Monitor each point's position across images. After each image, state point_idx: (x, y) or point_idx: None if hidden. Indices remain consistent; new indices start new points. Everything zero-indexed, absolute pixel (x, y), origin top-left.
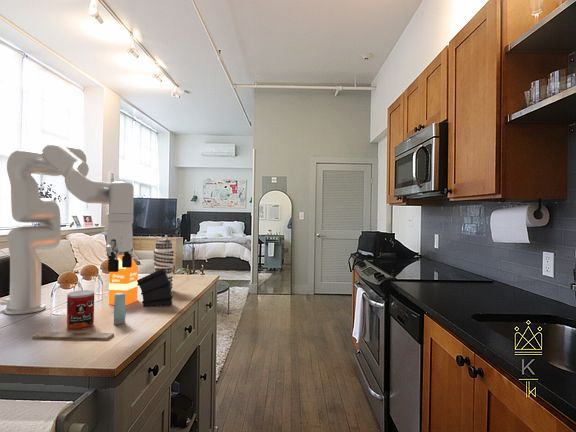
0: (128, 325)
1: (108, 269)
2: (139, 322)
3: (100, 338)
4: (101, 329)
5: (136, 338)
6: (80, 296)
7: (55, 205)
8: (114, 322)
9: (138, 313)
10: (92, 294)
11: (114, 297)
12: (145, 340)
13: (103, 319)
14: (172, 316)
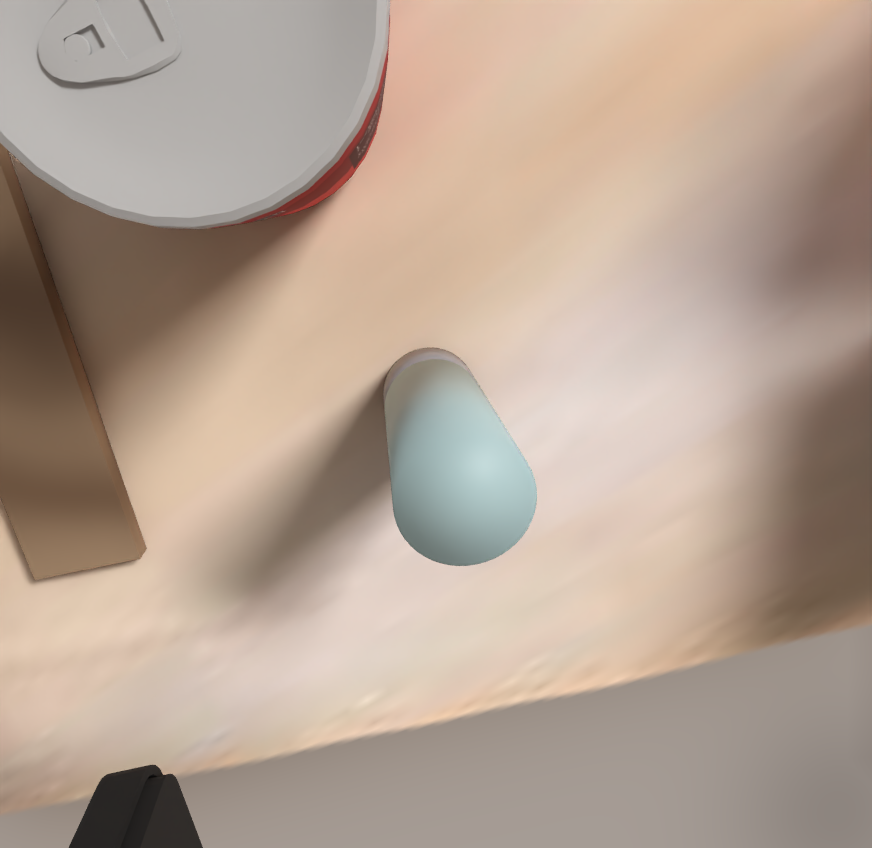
0: None
1: (90, 823)
2: None
3: (19, 528)
4: (247, 352)
5: (157, 713)
6: (12, 150)
7: None
8: (387, 380)
9: (748, 359)
10: (227, 221)
11: (404, 451)
12: None
13: (515, 159)
14: (690, 662)
